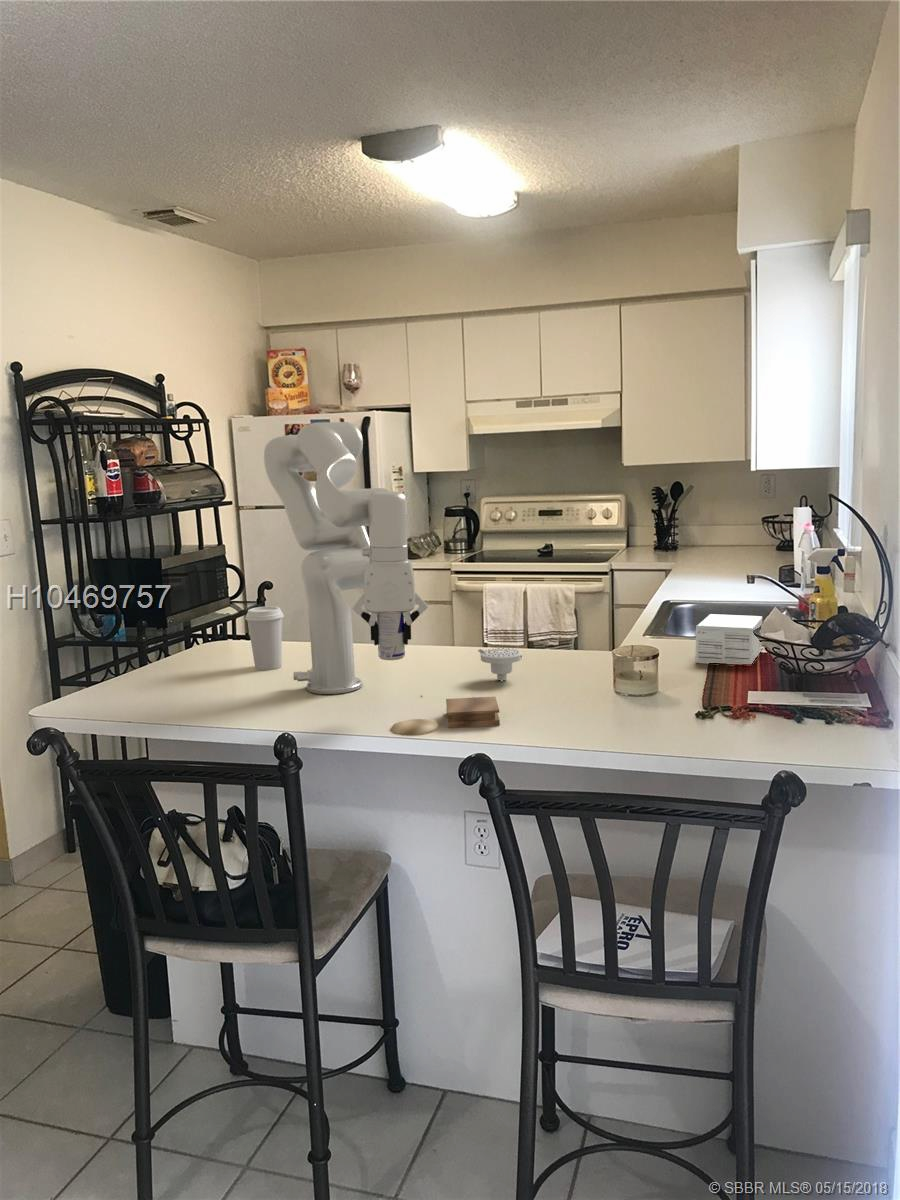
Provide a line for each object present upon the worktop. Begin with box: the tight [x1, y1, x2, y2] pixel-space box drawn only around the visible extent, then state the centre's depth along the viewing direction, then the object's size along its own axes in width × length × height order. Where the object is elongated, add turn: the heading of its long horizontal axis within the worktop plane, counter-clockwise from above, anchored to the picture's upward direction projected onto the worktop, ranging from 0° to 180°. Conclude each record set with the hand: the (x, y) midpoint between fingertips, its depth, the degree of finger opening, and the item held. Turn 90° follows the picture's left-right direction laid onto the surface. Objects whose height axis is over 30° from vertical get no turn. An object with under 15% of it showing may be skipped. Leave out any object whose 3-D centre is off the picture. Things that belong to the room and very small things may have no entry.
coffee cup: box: [244, 605, 285, 671], centre depth 237 cm, size 10×10×15 cm
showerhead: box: [477, 647, 523, 681], centre depth 215 cm, size 9×7×10 cm
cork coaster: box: [391, 718, 440, 736], centre depth 182 cm, size 9×9×1 cm
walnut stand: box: [445, 696, 501, 729], centre depth 186 cm, size 10×10×3 cm
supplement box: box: [695, 613, 763, 665], centre depth 228 cm, size 17×13×9 cm
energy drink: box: [376, 612, 406, 661], centre depth 189 cm, size 5×5×12 cm
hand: (391, 642), depth 190 cm, fingers closed on energy drink, 5 cm apart
